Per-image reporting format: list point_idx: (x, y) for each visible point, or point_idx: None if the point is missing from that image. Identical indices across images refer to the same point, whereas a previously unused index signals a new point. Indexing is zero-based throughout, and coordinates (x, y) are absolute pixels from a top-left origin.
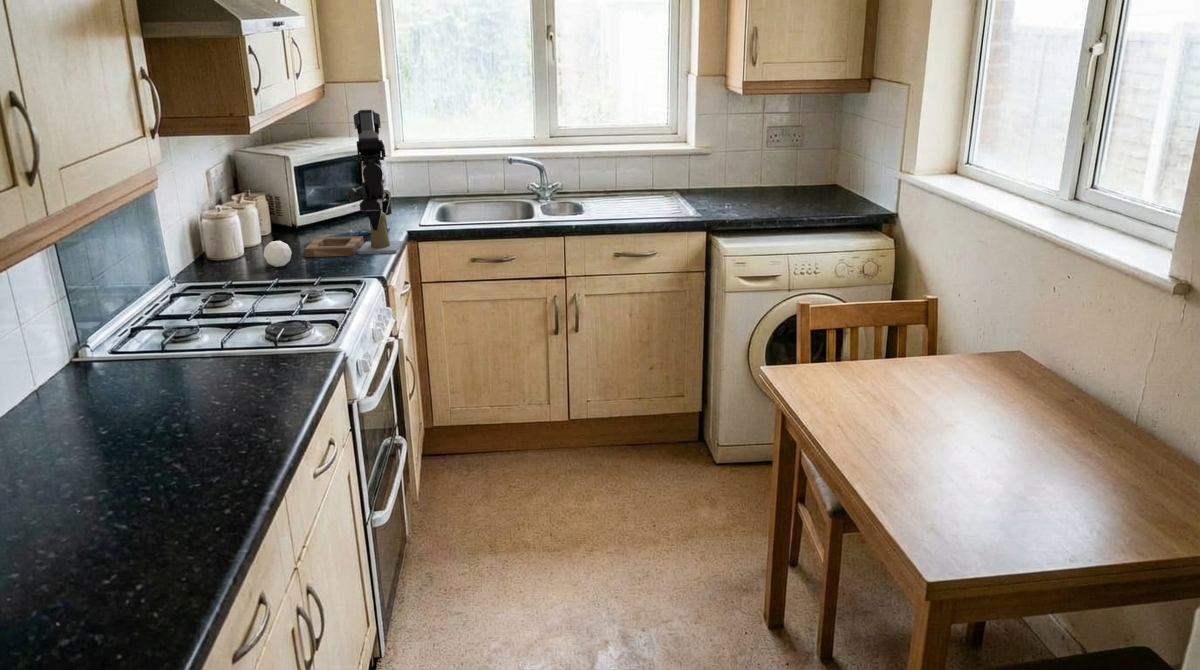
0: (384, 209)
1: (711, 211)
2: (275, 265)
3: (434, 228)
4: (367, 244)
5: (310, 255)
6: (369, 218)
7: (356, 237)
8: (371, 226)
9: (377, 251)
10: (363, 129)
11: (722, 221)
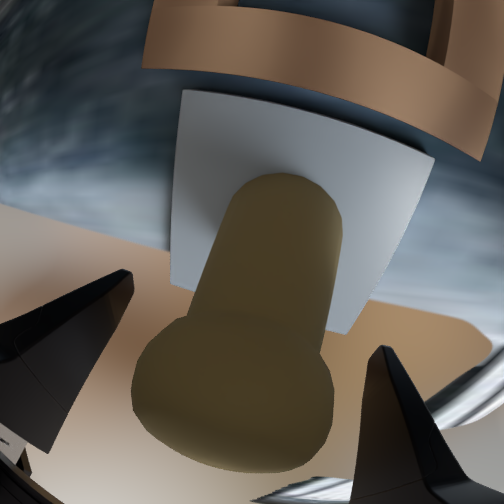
0: (362, 484)
1: (306, 500)
2: None
3: (472, 397)
4: (354, 157)
5: None
6: (18, 319)
7: (467, 109)
8: (240, 274)
9: (173, 202)
10: None
11: (266, 495)
